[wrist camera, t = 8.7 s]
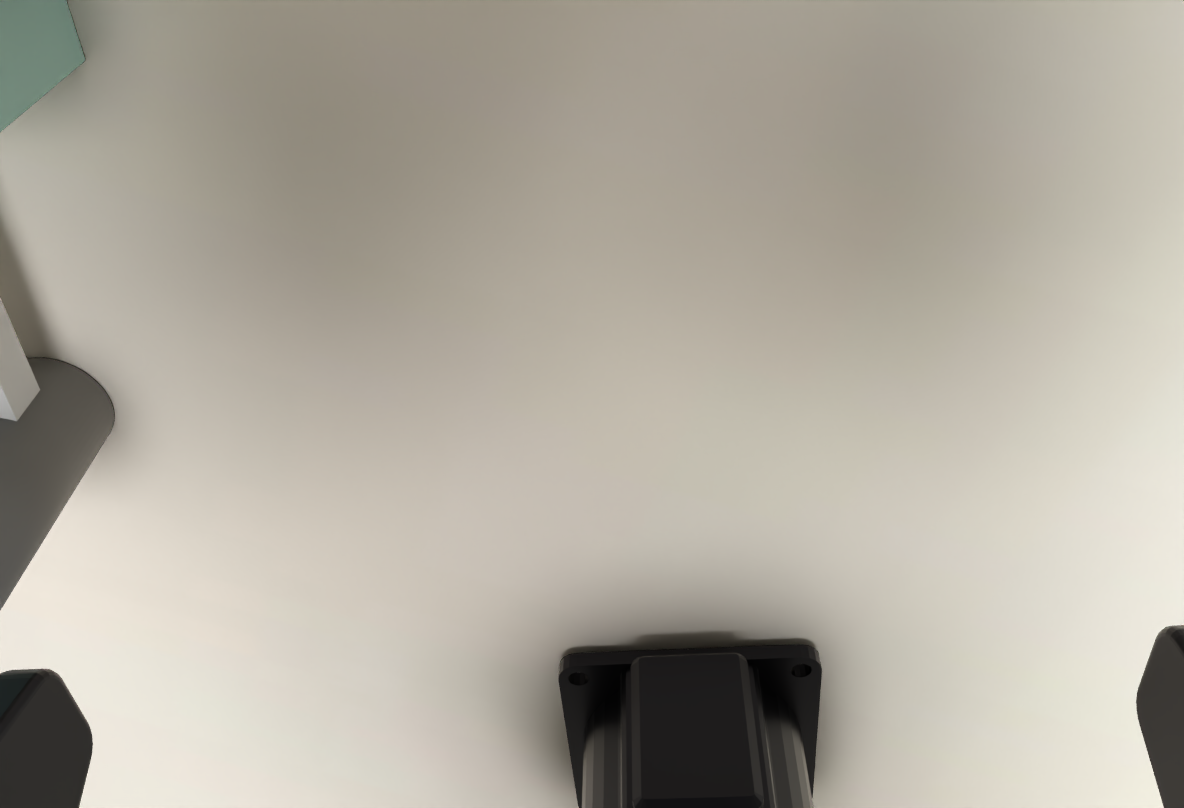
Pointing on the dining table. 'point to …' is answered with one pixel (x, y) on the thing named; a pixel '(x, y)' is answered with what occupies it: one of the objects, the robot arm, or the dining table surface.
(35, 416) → the block
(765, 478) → the dining table surface
